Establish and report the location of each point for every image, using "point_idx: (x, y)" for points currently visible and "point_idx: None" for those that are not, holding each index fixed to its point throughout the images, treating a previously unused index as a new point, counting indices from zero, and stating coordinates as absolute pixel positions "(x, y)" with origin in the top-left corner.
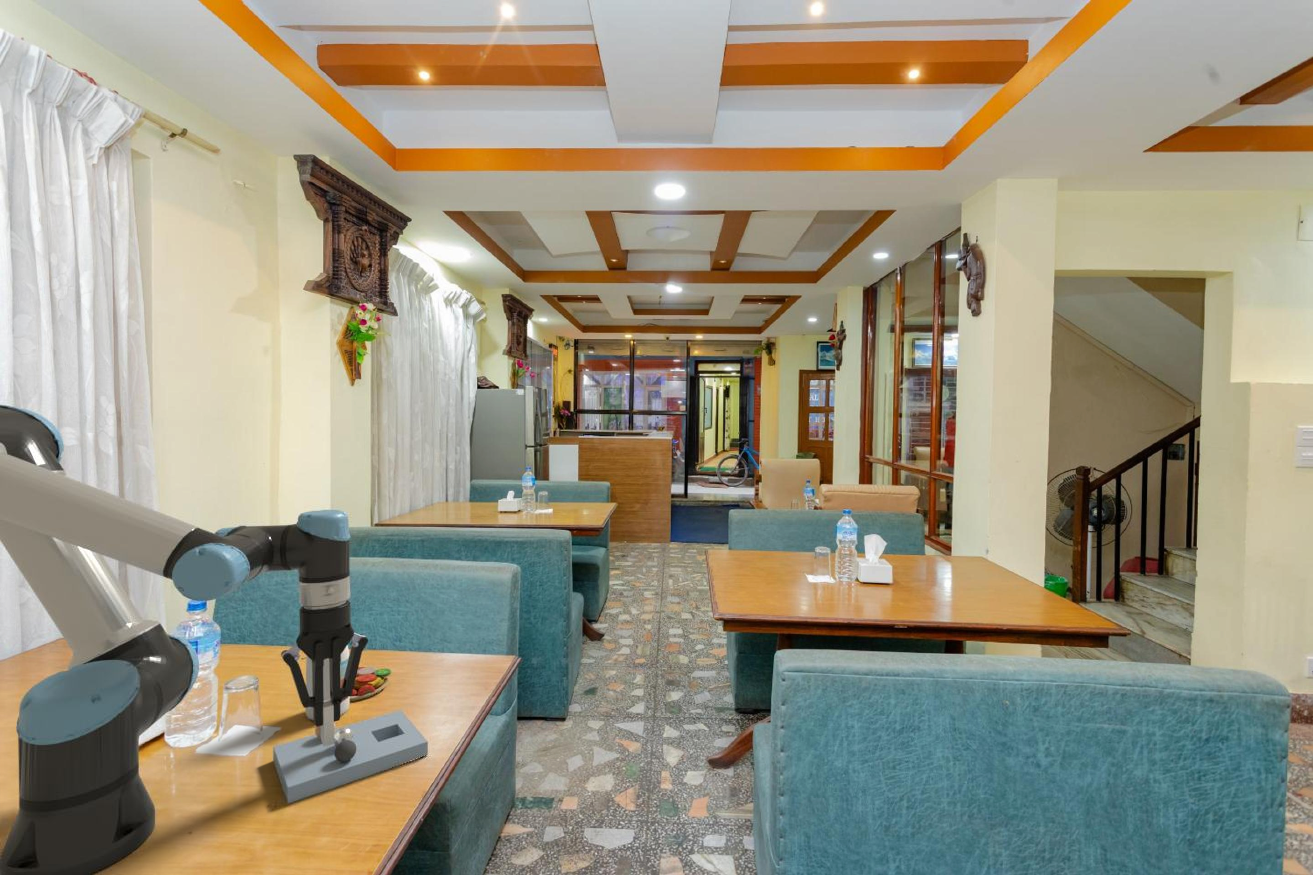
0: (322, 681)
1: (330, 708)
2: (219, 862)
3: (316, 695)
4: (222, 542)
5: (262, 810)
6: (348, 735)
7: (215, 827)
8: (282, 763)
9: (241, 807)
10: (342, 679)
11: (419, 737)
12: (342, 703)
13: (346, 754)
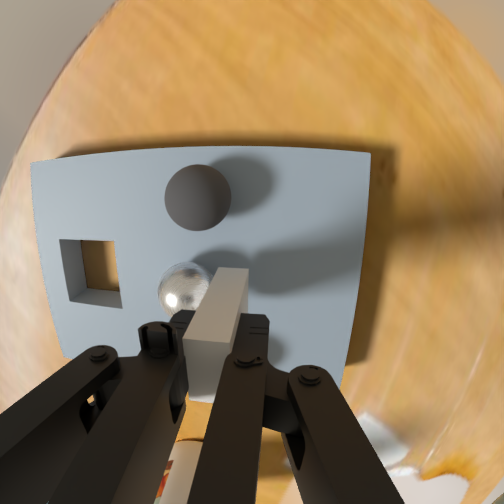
0: (203, 462)
1: (199, 333)
2: (475, 55)
3: (256, 399)
4: None
5: (407, 168)
6: (172, 272)
7: (478, 175)
8: (350, 296)
9: (435, 215)
10: (157, 496)
11: (38, 195)
12: (172, 456)
13: (201, 164)
